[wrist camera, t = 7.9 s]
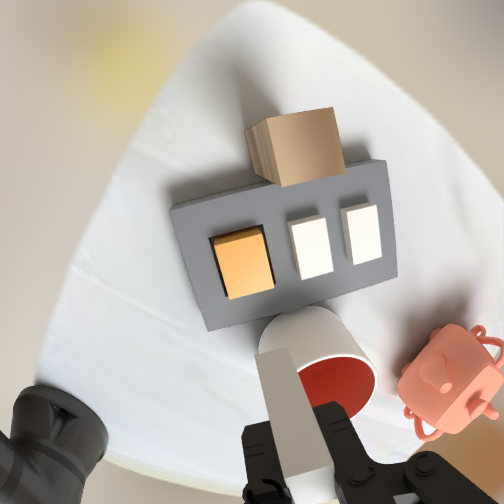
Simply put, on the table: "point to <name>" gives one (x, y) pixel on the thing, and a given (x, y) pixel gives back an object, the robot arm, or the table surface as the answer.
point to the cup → (323, 357)
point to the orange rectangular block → (243, 262)
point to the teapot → (451, 380)
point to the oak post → (296, 147)
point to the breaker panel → (278, 244)
